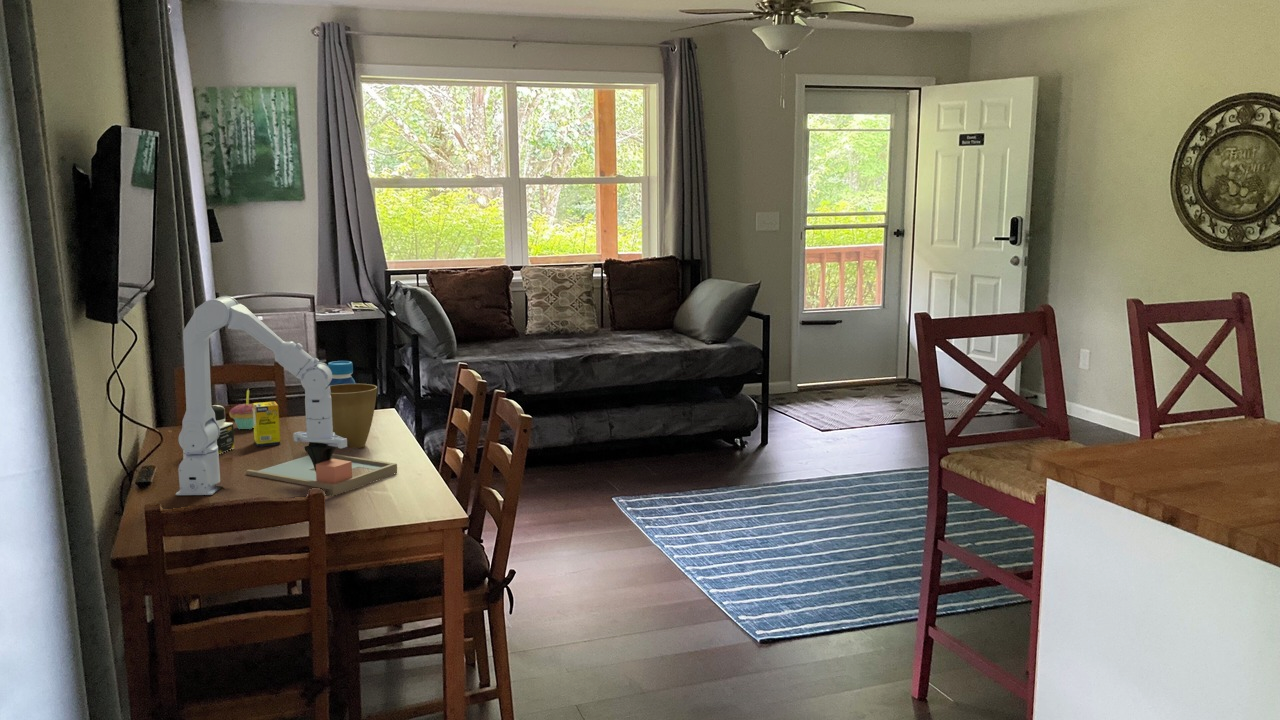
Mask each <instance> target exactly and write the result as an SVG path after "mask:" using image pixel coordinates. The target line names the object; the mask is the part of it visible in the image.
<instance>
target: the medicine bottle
mask: <svg viewBox="0 0 1280 720" xmlns="http://www.w3.org/2000/svg"><path fill="white" fill-rule="evenodd" d="M211 406H212V409H213V410H214V412H215V419H216V422H217V423H218V425H219V427H220V435H219V437H218V439H217V440H216V444H217V446H218V455H219V454H220V455H222V454H224V453H223V452H225V453H227V452H229V451H228V450H230V451H231V449H232V450H234V449H235V448H236V447H235V433H234V423H233V422H227V421H226V410H225V407H224V406H222V405H218V404H214V405H212V404H211ZM226 451H227V452H226ZM221 453H222V454H221ZM220 455H219V456H220Z"/></svg>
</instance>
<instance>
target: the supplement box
mask: <svg viewBox="0 0 1280 720" xmlns="http://www.w3.org/2000/svg"><path fill="white" fill-rule="evenodd" d="M251 404H252V408H253V424H254V429H253V439H254V444H255V445H256V447H258V446H260V447H267V446H279V445H281V432H280V431H281V430H280V413H279V411H280V410H279V404H278V403H277V402H276V401H265V402H254V403H251Z"/></svg>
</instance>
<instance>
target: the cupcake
mask: <svg viewBox="0 0 1280 720" xmlns="http://www.w3.org/2000/svg"><path fill="white" fill-rule="evenodd" d="M249 389H250V388H249V387H248V388H247V390H246V397H245V400H246V402H245V403H239V404H236V405H235V406H233V407H231V409H230V410H229V412H228V415H229V417H230V418H231V419H233V420H234V423H235V425H236V427H237V429H238V430H240V429H249V430H252V428H254V424H253V408H252V404H253V403H250V390H249Z"/></svg>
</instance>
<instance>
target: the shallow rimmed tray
mask: <svg viewBox="0 0 1280 720" xmlns="http://www.w3.org/2000/svg"><path fill="white" fill-rule="evenodd" d="M331 459H339V460H345V461H351V462H352V470H353V469H357V468H362V469H368V470H371V471H367V472H365V473H362V474H359V475H355V476H352V478H350V479H347V480H344V481H341V482H338V483H335V484H329V483H323V482H317V481H316V472H315V468H314V465H313V463H312V460H311V458H310V457H309V455H308V454H307V455H306V456H305V455H304V456H302V457H299V458H295V459H291V460H289V461H285V462H282V463H279V464H275V465H273V466H269V467H265V468H262V469H259V470H255V469H247V470H245V473H246V474H245V475H248V476H254V477H259V478H265V479H268V480H269V479H270V480H276V481H280V482H281V481H282V482H287V483H292V484H297V485H303V486H309V487H313V488H320V489H325V494H326V495H325V496H329V495H331V496H330V497H335V496H334V495H336V496H338V495H337V494H339V495H341V494H340V493H342V494H344V493H343V492H345V491H347V492H349V491H348V490H350V491H352V490H351V489H353V488H356V489H358V488H360V487H359V486H361V487H363V486H362V485H364V486H366V485H365V484H367V485H369V484H371V483H370V482H372V483H374V482H373V481H375V482H377V481H376V480H378V481H380V480H382V478H383V479H385V477H386V478H389V477H391V476H393V475H392V474H394V473H397V474H398V464H397V463H394V462H388V461H382V460H376V459H369V458H364V457H356V456H350V455H345V454H344V455H343V454H338V453H333V454H332V456H331V458H330V460H331ZM313 469H314V470H313ZM390 475H391V476H390ZM394 475H395V474H394ZM388 476H389V477H388ZM379 479H380V480H379ZM368 483H369V484H368ZM357 487H358V488H357ZM353 490H354V489H353ZM345 493H346V492H345ZM332 495H333V496H332Z"/></svg>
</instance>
